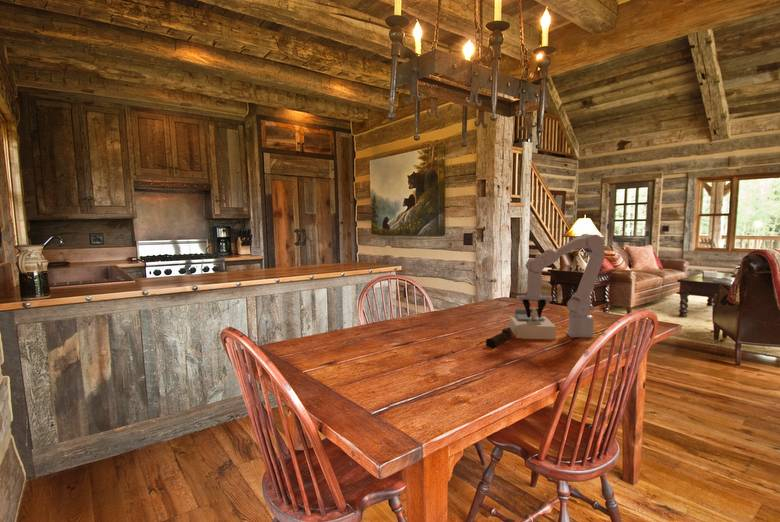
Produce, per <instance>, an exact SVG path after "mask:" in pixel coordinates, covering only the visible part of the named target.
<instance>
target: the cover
mask: <svg viewBox="0 0 780 522" xmlns="http://www.w3.org/2000/svg"><path fill="white" fill-rule="evenodd" d="M514 316H516V317H517V318H518V320H527V321H529V317H527V313H526V309H525V308H514ZM539 321H545V319H544V318H543V317H542V315H541V318H539Z"/></svg>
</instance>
